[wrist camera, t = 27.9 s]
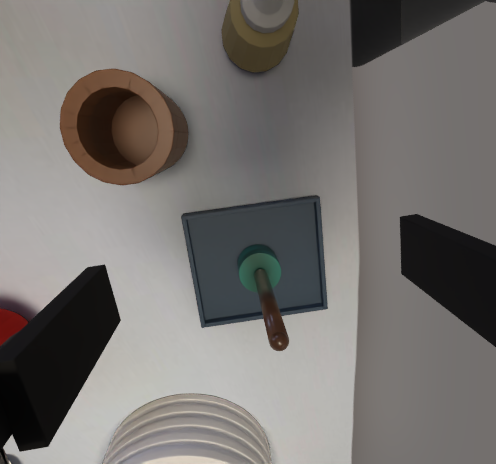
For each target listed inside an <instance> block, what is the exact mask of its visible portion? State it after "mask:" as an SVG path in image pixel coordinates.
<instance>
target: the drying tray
mask: <svg viewBox="0 0 496 464" xmlns="http://www.w3.org/2000/svg"><path fill="white" fill-rule="evenodd" d="M181 218H182V224H183V229H184V234H185V240H186V245H187V251H188V256H189V262H190V267H191V273H192V278H193V284H194V289H195V294H196V300H197V305H198V311H199V316H200V322H201V327H202V328H204V327H210V326H217V325H224V324H230V323H237V322H244V321H250V320H257V319H264V318H263V313H262V309H261V304H260V300H259V296H258V293H257V292H252V291H250V290H248V289H247V288H245V287H244V286H243V284H242V283H241V281H240V278H239V272H238V258H239V256H240V254H241V252H242V251H243V250H244V249H245V248H247V247H249V246H251V245H255V244H261V245H265V246H267V247H269V248H270V249H271V250H272V251H273V252H274V253H275V255H276V257H277V260H278V262H279V264H280V267H281V277H280V280H279V282H278V283H277V285H276V286H275V287H274V288H272V289H273V292H274V295H275V298H276V301H277V304H278V307H279V311H280V314H281V316H284V315H291V314H297V313H304V312H311V311H317V310H324V309H328V307H327V292H326V278H325V263H324V249H323V235H322V220H321V206H320V197H318V196H309V197H302V198H295V199H287V200H280V201H273V202H266V203H258V204H251V205H244V206H237V207H229V208H222V209H215V210H207V211H200V212H193V213H186V214H183V215H182V216H181Z"/></svg>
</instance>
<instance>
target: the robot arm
mask: <svg viewBox="0 0 496 464" xmlns="http://www.w3.org/2000/svg"><path fill="white" fill-rule="evenodd" d="M400 236H401V273H402V275H404V276H405V277H406V278H407V279H409V280H410V281H411V282H413V283H414V284H415V285H417V286H418V287H419V288H420V289H422V290H423V291H424V292H425V293H427V294H428V295H429V296H431V297H432V298H433V299H434V300H436V301H437V302H438V303H440V304H441V305H442V306H443V307H445V308H446V309H448V310H449V311H450V312H451V313H452V314H454V315H455V316H456V317H458V318H459V319H460V320H461V321H463V322H464V323H465V324H467V325H468V326H469V327H471V328H472V329H473V330H474V331H476V332H477V333H478V334H479V335H481V336H482V337H483V338H485V339H486V340H487V341H488V342H490V343H491V344H492V345H494V346H495V347H496V246H495V245H492V244H490V243H488V242H485V241H483V240H480V239H478V238H475V237H473V236H470V235H468V234H465V233H463V232H460V231H458V230H455V229H453V228H450V227H448V226H445V225H443V224H440V223H437V222H435V221H433V220H430V219H428V218H425V217H423V216H420V215H418V214H415V215H408V216H402V217H400ZM120 321H121V319H120V316H119V312H118V309H117V305H116V302H115V298H114V295H113V291H112V288H111V284H110V281H109V277H108V274H107V270H106V266H105V265H99V266H93V267H87V268H86V269H85V270H84V271H83V272H82V273H81V274H80V275H79V276H78V277H77V278H76V279H75V280H73V281H72V282H71V283H70V284H69V285H68V286H67V287H66V288H65V289H64V290H63V291H62V292H61V293H60V294H59V295H57V296H56V297H55V298H54V299H53V300H52V301H51V302H50V303H49V304H48V305H47V306H46V307H45V308H44V309H43V310H42V311H40V312H39V313H38V314H37V315H36V316H35V317H34V318H33V319H32V320H31V321H30V322H29V323H28V324H27V325H26V326H24V327H23V328H22V329H21V330H20V331H18V332H17V333H15V334H14V335H12V336H10V337H9V338H8V339H7V340H6V341H5V342H4V343H3V344H2V345H1V346H0V464H9V461H8V458H7V456H6V453H5V451H4V449H3V446H4V445H5V443H6V442H7V441H8V439H9V438H10V436H11V435H13V437H14V439H15V442H16V444H17V446H18V449H19V451H26V450H32V449H38V448H43V447H48V446H49V444H50V442H51V441H52V439H53V437H54V435H55V434H56V432H57V430H58V429H59V427H60V425H61V423H62V422H63V420H64V418H65V416H66V415H67V413H68V411H69V409H70V408H71V406H72V404H73V402H74V401H75V399H76V397H77V396H78V394H79V392H80V390H81V389H82V387H83V385H84V383H85V382H86V380H87V378H88V376H89V375H90V373H91V371H92V369H93V368H94V366H95V364H96V362H97V361H98V359H99V357H100V356H101V354H102V352H103V350H104V349H105V347H106V345H107V343H108V342H109V340H110V338H111V336H112V335H113V333H114V331H115V329H116V328H117V326H118V324H119V323H120Z"/></svg>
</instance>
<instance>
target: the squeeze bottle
mask: <svg viewBox="0 0 496 464" xmlns="http://www.w3.org/2000/svg"><path fill="white" fill-rule="evenodd" d="M298 14H299V11H298V0H230V2H229V5H228V8H227V11H226V14H225V18H224V22H223V26H222V39H223V46H224V48H225V50H226V52H227V54H228V56H229V58H230V59H231V60H232V61H233V62H234V63H235V64H236V65H237V66H239V67H240V68H241V69H244V70H247V71H250V72H262V71H267V70H269V69H271V68H273V67H274V66H276V65H278V64H279V62H280V61H281V60H282V58H283V57H284V56H285V54H286V53H287V50H288V47H289V44H290V41H291V37H292V34H293V31H294V28H295V24H296V21H297V17H298Z"/></svg>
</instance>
